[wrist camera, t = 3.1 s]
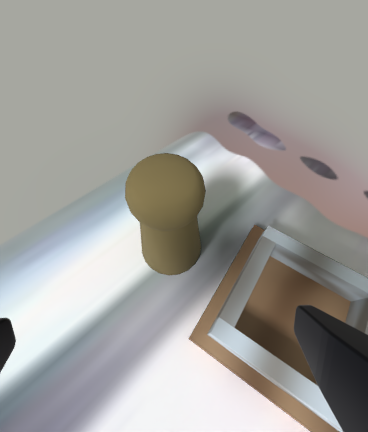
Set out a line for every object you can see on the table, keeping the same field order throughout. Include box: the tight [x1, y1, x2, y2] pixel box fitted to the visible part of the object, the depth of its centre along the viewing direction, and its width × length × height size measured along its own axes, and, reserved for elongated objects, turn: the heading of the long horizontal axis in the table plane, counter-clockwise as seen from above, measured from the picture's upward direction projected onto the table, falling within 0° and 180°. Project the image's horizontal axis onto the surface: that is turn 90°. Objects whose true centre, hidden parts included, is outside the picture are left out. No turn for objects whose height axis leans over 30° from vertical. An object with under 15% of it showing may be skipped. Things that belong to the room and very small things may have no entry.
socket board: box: [189, 225, 368, 432], centre depth 17 cm, size 12×12×4 cm
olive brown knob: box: [125, 153, 206, 275], centre depth 18 cm, size 6×6×11 cm
